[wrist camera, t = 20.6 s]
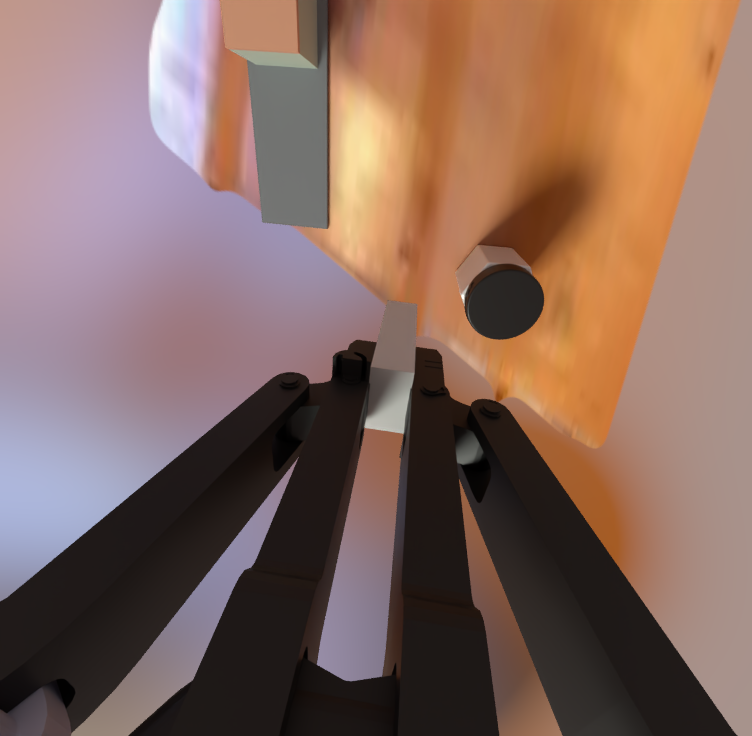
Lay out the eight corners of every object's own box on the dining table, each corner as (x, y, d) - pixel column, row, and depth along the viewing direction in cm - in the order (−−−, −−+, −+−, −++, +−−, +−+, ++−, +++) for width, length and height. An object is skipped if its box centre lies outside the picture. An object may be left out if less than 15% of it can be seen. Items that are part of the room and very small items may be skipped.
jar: (447, 257, 47) (454, 285, 37) (508, 230, 44) (533, 252, 34) (469, 314, 51) (480, 353, 41) (526, 292, 48) (553, 328, 38)
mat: (235, -94, 33) (232, -97, 32) (327, -90, 32) (326, -93, 32) (263, 221, 48) (262, 222, 47) (327, 228, 47) (327, 228, 47)
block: (225, 47, 32) (256, 64, 38) (297, 52, 32) (317, 68, 38) (212, -65, 29) (248, -27, 35) (293, -62, 28) (316, -24, 34)
